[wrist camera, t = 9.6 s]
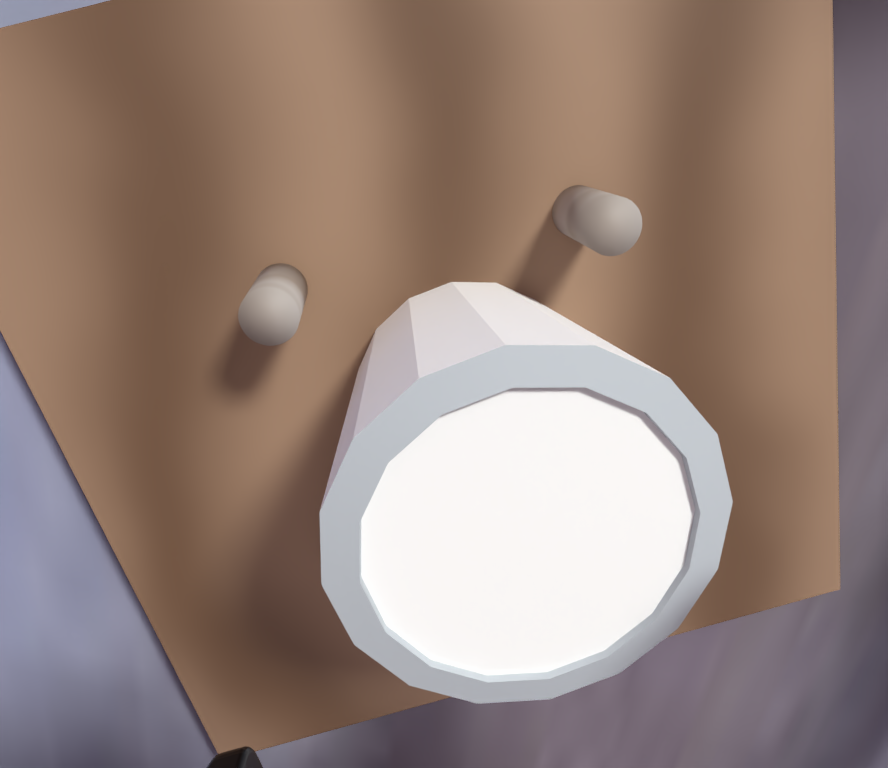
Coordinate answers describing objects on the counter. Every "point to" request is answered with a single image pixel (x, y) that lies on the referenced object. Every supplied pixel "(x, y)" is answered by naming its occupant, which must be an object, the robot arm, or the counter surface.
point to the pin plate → (402, 276)
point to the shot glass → (515, 500)
